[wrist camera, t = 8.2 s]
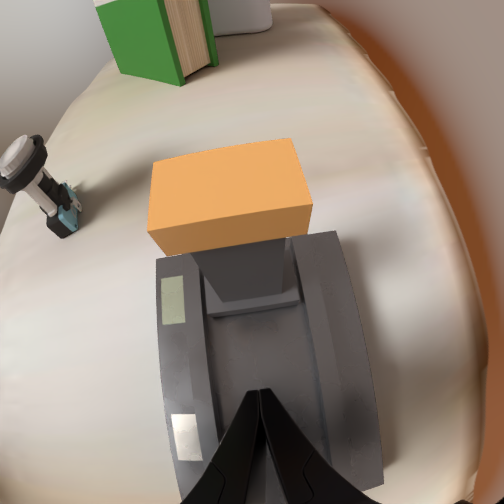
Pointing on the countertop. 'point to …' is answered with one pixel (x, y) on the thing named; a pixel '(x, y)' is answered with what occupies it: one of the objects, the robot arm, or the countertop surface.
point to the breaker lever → (234, 221)
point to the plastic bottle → (239, 16)
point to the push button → (39, 183)
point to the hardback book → (159, 37)
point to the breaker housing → (269, 365)
